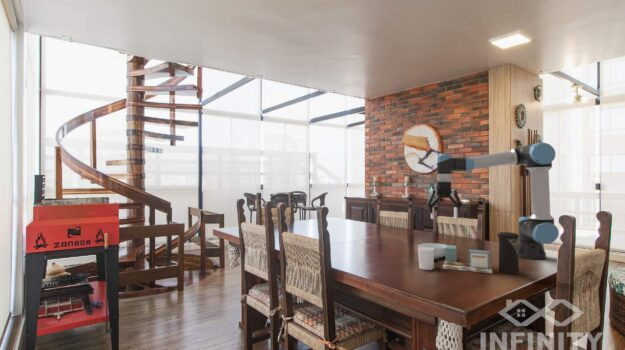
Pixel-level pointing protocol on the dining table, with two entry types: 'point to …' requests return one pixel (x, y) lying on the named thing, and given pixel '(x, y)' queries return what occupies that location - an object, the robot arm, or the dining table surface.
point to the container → (508, 253)
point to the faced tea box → (479, 259)
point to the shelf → (464, 267)
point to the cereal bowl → (435, 249)
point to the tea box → (450, 253)
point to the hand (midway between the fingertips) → (444, 218)
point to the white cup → (426, 258)
